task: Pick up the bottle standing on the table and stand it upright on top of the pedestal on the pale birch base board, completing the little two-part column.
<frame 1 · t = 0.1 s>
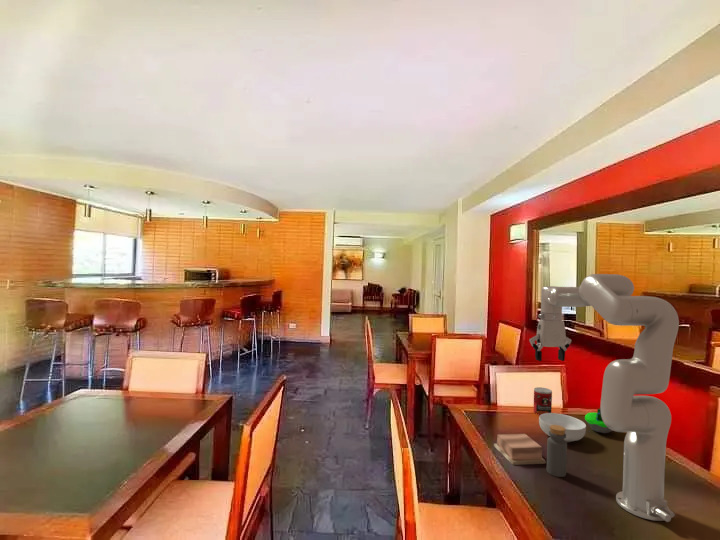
hand: (549, 360, 156), 31 cm above the table, tool pointing down, fingers open, 9 cm apart
bottle: (556, 473, 130), on the table
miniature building: (600, 431, 165), on the table
pedestal: (518, 454, 142), on the table
cereal bowl: (561, 438, 157), on the table
canned food: (542, 413, 184), on the table
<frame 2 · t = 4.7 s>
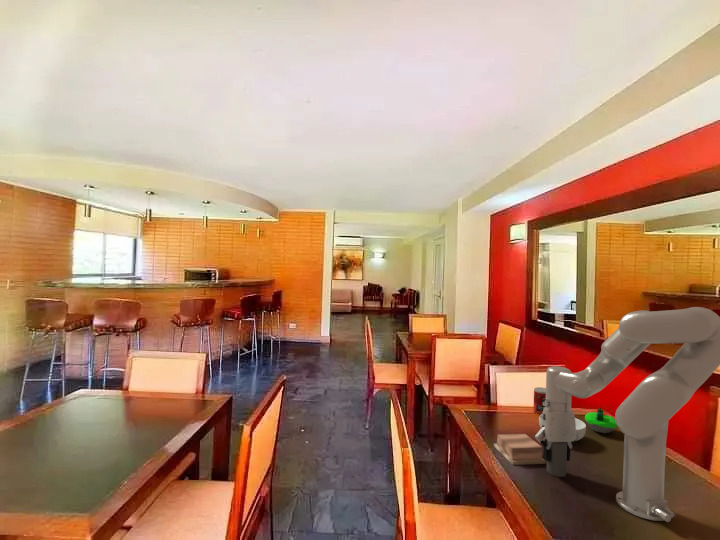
hand: (556, 458, 130), 5 cm above the table, tool pointing down, fingers closed on bottle, 5 cm apart
bottle: (556, 473, 130), on the table, touching gripper
everything else where it was.
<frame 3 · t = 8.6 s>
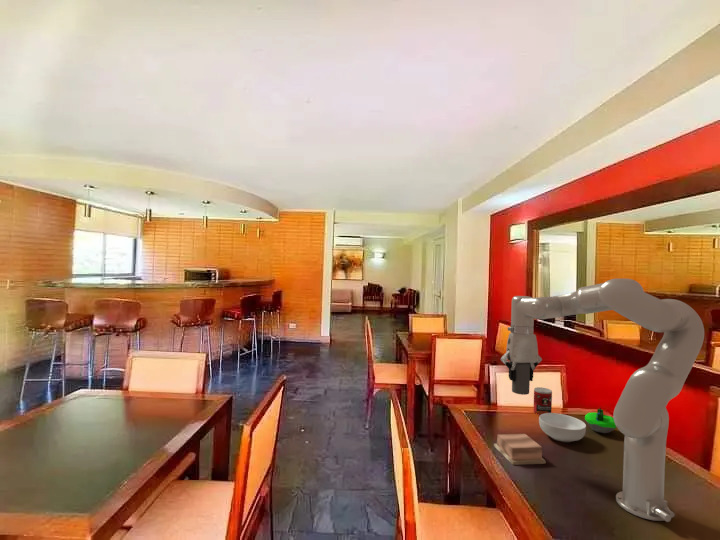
hand: (520, 379, 142), 27 cm above the table, tool pointing down, fingers closed on bottle, 5 cm apart
bottle: (520, 392, 142), point 22 cm above the table, touching gripper
everything else where it was.
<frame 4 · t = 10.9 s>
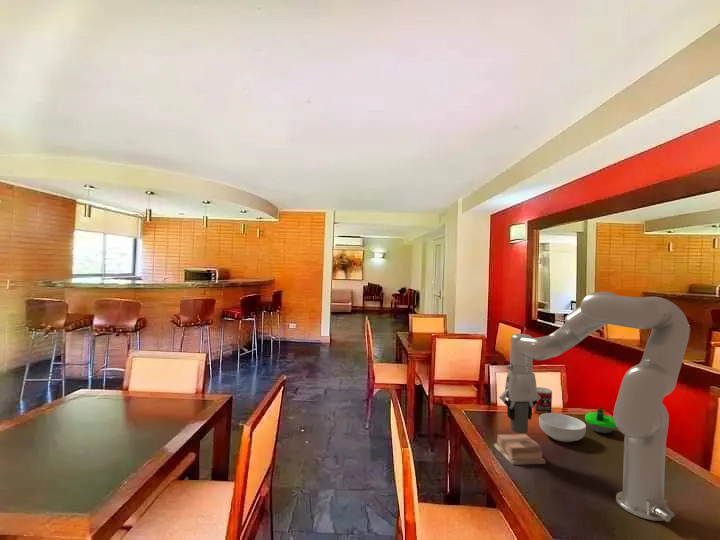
hand: (519, 417, 142), 13 cm above the table, tool pointing down, fingers closed on bottle, 5 cm apart
bottle: (519, 430, 142), point 9 cm above the table, touching gripper
everything else where it was.
when the fingers open (10 cm above the table, at t = 12.5 s): bottle stays where it is, resting on pedestal.
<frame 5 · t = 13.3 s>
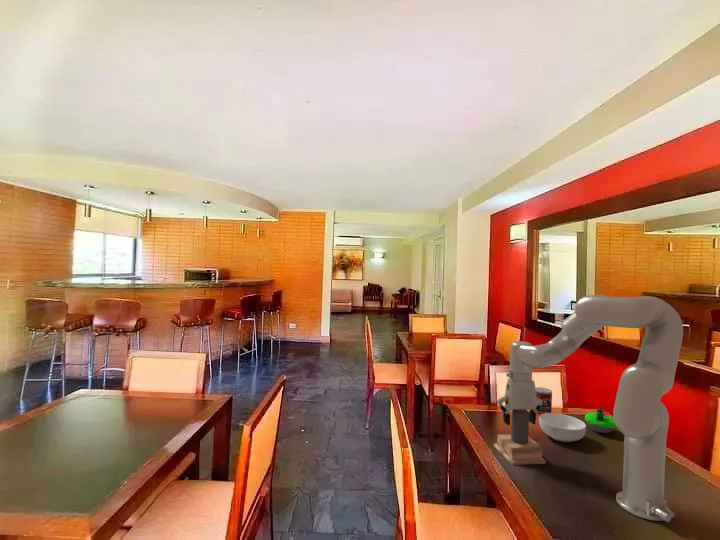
hand: (519, 423, 142), 11 cm above the table, tool pointing down, fingers open, 9 cm apart
bottle: (519, 441, 142), point 5 cm above the table, touching pedestal
everything else where it was.
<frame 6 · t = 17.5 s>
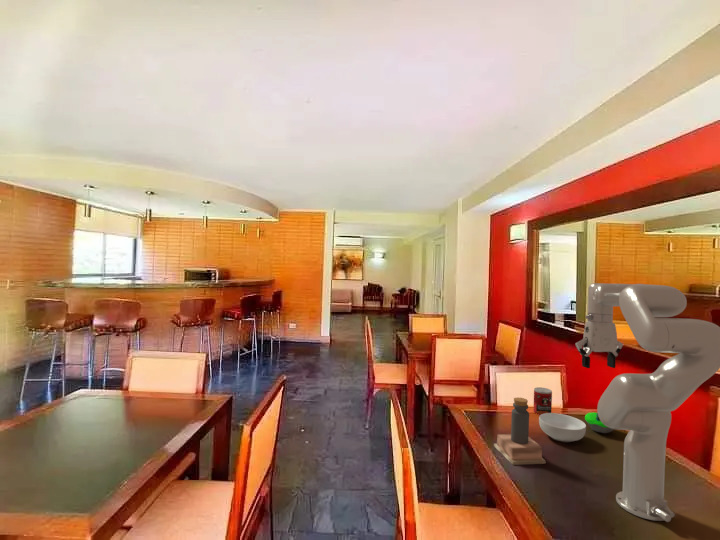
hand: (598, 367, 138), 33 cm above the table, tool pointing down, fingers open, 9 cm apart
nothing on the table moved.
at the end: bottle 0.1 cm off-centre on the pedestal, point 4.8 cm above the pedestal's base; bottle tilted 0°; the gripper is holding nothing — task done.
